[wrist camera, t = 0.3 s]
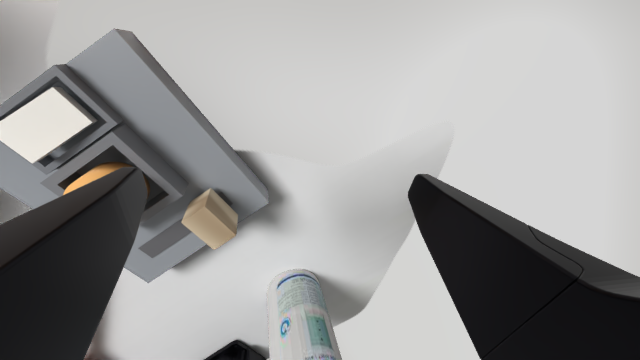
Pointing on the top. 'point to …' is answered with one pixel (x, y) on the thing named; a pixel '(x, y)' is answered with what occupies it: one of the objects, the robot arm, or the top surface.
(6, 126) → the rocker switch
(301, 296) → the spray can
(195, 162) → the control panel
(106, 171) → the push button
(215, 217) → the slider knob
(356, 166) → the top surface
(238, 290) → the top surface
